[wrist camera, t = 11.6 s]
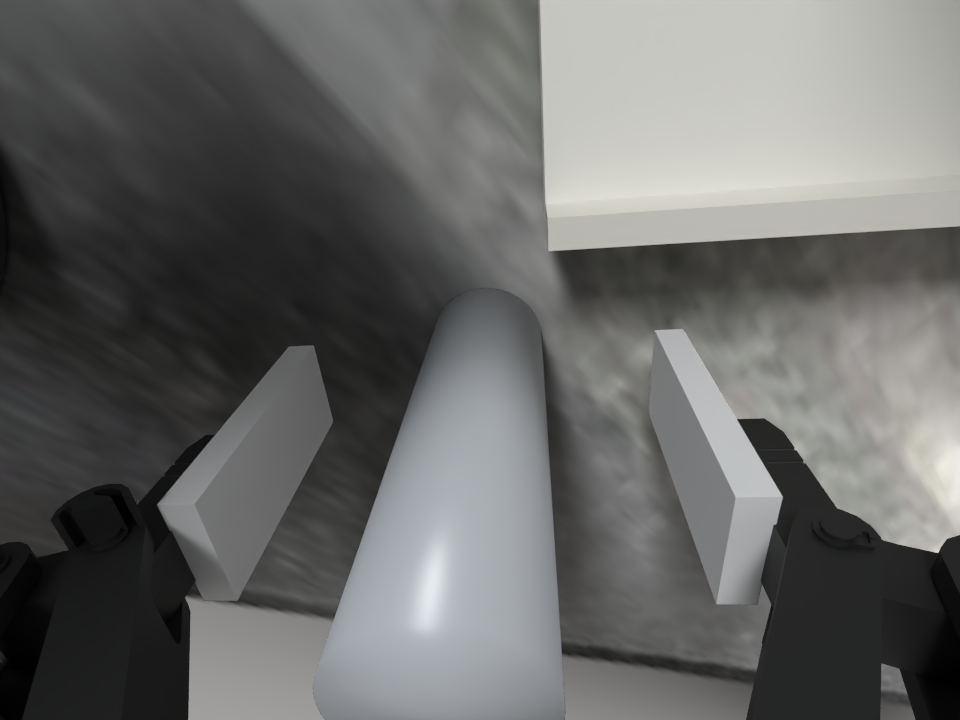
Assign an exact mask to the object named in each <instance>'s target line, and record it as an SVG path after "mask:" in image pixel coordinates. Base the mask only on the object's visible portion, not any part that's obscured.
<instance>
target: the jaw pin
mask: <svg viewBox="0 0 960 720" xmlns="http://www.w3.org/2000/svg"><path fill="white" fill-rule="evenodd" d="M313 695H314V699H315V702H316V705H317V707H318V709H319V711H320V714H321V715H322V716H323V718H324V719H325V720H565V696H564V681H563V666H562V649H561V634H560V618H559V602H558V587H557V571H556V555H555V540H554V524H553V509H552V493H551V477H550V462H549V446H548V430H547V415H546V399H545V384H544V368H543V352H542V337H541V329H540V325H539V322H538V319H537V317H536V316H535V314H534V312H533V311H532V310H531V308H530V307H529V306H528V305H527V304H526V303H525V302H524V301H523V300H521V299H520V298H519V297H517V296H515V295H513V294H511V293H509V292H506V291H503V290H499V289H492V288H481V289H475V290H470V291H468V292H465V293H462V294H461V295H459V296H457V297H456V298H454V299H453V300H451V301H450V302H449V303H448V304H447V305H446V306H445V308H444V309H443V310H442V312H441V314H440V315H439V318H438V320H437V323H436V326H435V329H434V332H433V334H432V337H431V340H430V343H429V346H428V349H427V352H426V355H425V358H424V360H423V363H422V366H421V369H420V372H419V375H418V378H417V381H416V384H415V387H414V389H413V392H412V395H411V398H410V401H409V404H408V407H407V410H406V413H405V415H404V418H403V421H402V424H401V427H400V430H399V433H398V436H397V439H396V442H395V444H394V447H393V450H392V453H391V456H390V459H389V462H388V465H387V468H386V470H385V473H384V476H383V479H382V482H381V485H380V488H379V491H378V494H377V497H376V499H375V502H374V505H373V508H372V511H371V514H370V517H369V520H368V523H367V525H366V528H365V531H364V534H363V537H362V540H361V543H360V546H359V549H358V552H357V554H356V557H355V560H354V563H353V566H352V569H351V572H350V575H349V578H348V580H347V583H346V586H345V589H344V592H343V595H342V598H341V601H340V604H339V607H338V609H337V612H336V615H335V618H334V621H333V624H332V627H331V630H330V633H329V636H328V639H327V641H326V644H325V647H324V650H323V653H322V656H321V659H320V662H319V665H318V667H317V670H316V673H315V676H314V682H313Z"/></svg>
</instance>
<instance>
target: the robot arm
mask: <svg viewBox="0 0 960 720" xmlns="http://www.w3.org/2000/svg"><path fill="white" fill-rule="evenodd" d="M6 247H7V245H6V224H5V215H4V209H3V204H2V198H1V194H0V285H1V282H2V278H3V274H4V268H5V262H6ZM648 413H649V415H650V418H651V421H652V424H653V427H654V430H655V432H656V435H657V438H658V441H659V444H660V446H661V449H662V452H663V455H664V458H665V461H666V463H667V466H668V469H669V472H670V475H671V478H672V480H673V483H674V486H675V489H676V492H677V495H678V497H679V500H680V503H681V506H682V509H683V512H684V514H685V517H686V520H687V523H688V526H689V529H690V531H691V534H692V537H693V540H694V543H695V546H696V548H697V551H698V554H699V557H700V560H701V563H702V565H703V568H704V571H705V574H706V577H707V580H708V582H709V585H710V588H711V591H712V594H713V597H714V599H715V602H716V604H751V605H757V604H758V599H759V595H760V591H761V587H762V585H763V587H764V589H765V591H766V593H767V596H768V598H769V600H770V602H771V604H772V605H771V609H770V613H769V617H768V621H767V625H766V628H765V632H764V636H763V640H762V643H763V644H762V649H761V654H760V658H759V663H758V667H757V672H756V677H755V681H754V686H753V691H752V695H751V700H750V704H749V709H748V714H747V719H746V720H880V698H881V663H882V664H886V665H889V666H893V667H896V668H899V669H900V672H901V675H902V678H903V681H904V684H905V687H906V691H907V694H908V697H909V700H910V703H911V706H912V710H913V713H914V716H915V719H916V720H960V535H959V536H956V537H952V538H949V539H947V540H946V541H945V543H944V544H943V545H942V547H941V549H940V551H939V553H934V552H930V551H925V550H921V549H916V548H911V547H907V546H902V545H897V544H894V543H890V542H887V541H883V540H881V537H880V536H879V535H878V534H877V532H876V531H875V530H874V529H873V528H872V527H871V526H870V525H869V524H867V523H866V522H864V521H863V520H862V519H860V518H859V517H857V516H855V515H853V514H850V513H848V512H845V511H843V510H840V509H837V508H836V506H835V505H834V503H833V502H832V501H831V499H830V498H829V496H828V495H827V493H826V492H825V491H824V489H823V488H822V486H821V485H820V483H819V482H818V481H817V479H816V478H815V476H814V475H813V473H812V472H811V471H810V469H809V468H808V466H807V465H806V464H804V463H803V459H802V458H801V456H800V455H799V453H798V452H797V451H795V450H794V446H793V445H792V443H791V442H790V441H789V439H788V438H787V436H786V435H785V433H784V432H783V431H781V430H780V429H779V428H777V427H776V426H774V425H773V424H771V423H770V422H769V421H767V420H766V419H736V417H735V416H734V414H733V412H732V410H731V409H730V407H729V405H728V404H727V402H726V400H725V399H724V397H723V395H722V394H721V392H720V390H719V389H718V387H717V385H716V384H715V382H714V380H713V379H712V377H711V375H710V373H709V372H708V370H707V368H706V367H705V365H704V363H703V362H702V360H701V358H700V357H699V355H698V353H697V352H696V350H695V348H694V347H693V345H692V343H691V342H690V340H689V338H688V336H687V335H686V333H685V331H684V330H683V329H672V330H655V332H654V346H653V359H652V372H651V386H650V399H649V412H648ZM332 423H333V418H332V414H331V410H330V407H329V403H328V399H327V395H326V391H325V387H324V383H323V380H322V376H321V372H320V368H319V364H318V360H317V356H316V353H315V349H314V345H312V346H289V347H288V348H287V350H286V351H285V352H284V353H283V354H282V356H281V357H280V358H279V359H278V360H277V362H276V363H275V364H274V365H273V366H272V368H271V369H270V370H269V371H268V372H267V374H266V375H265V376H264V377H263V378H262V379H261V381H260V382H259V383H258V384H257V385H256V387H255V388H254V389H253V390H252V391H251V393H250V394H249V395H248V396H247V397H246V399H245V400H244V401H243V402H242V403H241V405H240V406H239V407H238V408H237V409H236V411H235V412H234V413H233V414H232V415H231V417H230V418H229V419H228V420H227V421H226V423H225V424H224V425H223V426H222V427H221V429H220V430H219V431H218V432H217V433H216V435H206V436H204V437H203V438H201V439H200V440H198V441H197V442H196V443H194V444H193V445H191V446H190V447H188V448H187V449H186V450H185V451H184V453H183V454H182V455H181V456H180V457H179V458H178V459H177V461H176V462H175V465H172V466H171V467H170V469H169V470H168V471H167V472H166V473H165V477H162V478H161V479H160V480H159V481H158V482H157V483H156V484H155V486H154V487H153V488H152V489H151V490H150V491H149V492H148V494H147V495H146V496H145V497H144V498H143V499H142V500H141V502H140V503H139V504H138V505H137V504H136V502H135V500H134V498H133V496H132V494H131V492H130V490H129V488H127V487H125V486H124V485H122V484H107V485H102V486H98V487H95V488H92V489H89V490H87V491H84V492H82V493H80V494H78V495H77V496H75V497H73V498H72V499H70V500H68V501H67V502H66V503H65V504H63V505H62V506H61V507H60V508H59V509H58V510H57V511H56V512H55V514H54V515H53V517H52V518H51V522H52V523H53V525H54V527H55V528H56V530H57V531H58V533H59V534H60V536H61V538H62V539H63V541H64V542H65V544H66V546H67V547H68V549H69V550H68V551H63V552H59V553H55V554H51V555H47V556H43V557H39V558H36V556H35V555H34V553H33V552H32V550H31V549H30V547H29V546H28V545H27V544H24V543H22V542H11V543H5V544H2V545H0V720H188V700H189V651H190V609H189V606H188V603H187V601H186V599H185V596H186V595H187V593H188V592H189V590H190V589H191V587H192V585H193V584H194V582H195V583H196V586H197V588H198V590H199V592H200V594H201V596H202V598H203V600H204V601H238V599H239V597H240V595H241V593H242V591H243V589H244V588H245V586H246V584H247V582H248V580H249V578H250V576H251V574H252V573H253V571H254V569H255V567H256V565H257V563H258V561H259V560H260V558H261V556H262V554H263V552H264V550H265V548H266V546H267V545H268V543H269V541H270V539H271V537H272V535H273V533H274V532H275V530H276V528H277V526H278V524H279V522H280V520H281V518H282V517H283V515H284V513H285V511H286V509H287V507H288V505H289V504H290V502H291V500H292V498H293V496H294V494H295V492H296V490H297V489H298V487H299V485H300V483H301V481H302V479H303V477H304V476H305V474H306V472H307V470H308V468H309V466H310V464H311V462H312V461H313V459H314V457H315V455H316V453H317V451H318V449H319V448H320V446H321V444H322V442H323V440H324V438H325V436H326V434H327V433H328V431H329V429H330V427H331V425H332Z"/></svg>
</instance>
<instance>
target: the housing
mask: <svg viewBox="0 0 960 720" xmlns="http://www.w3.org/2000/svg"><path fill="white" fill-rule="evenodd" d="M538 26H539V60H540V94H541V129H542V163H543V198H544V219H545V227H546V235H547V243H548V251H560V250H577V249H593V248H610V247H626V246H643V245H659V244H676V243H692V242H709V241H725V240H741V239H758V238H774V237H791V236H807V235H824V234H840V233H857V232H873V231H890V230H906V229H923V228H939V227H956V226H960V0H538Z"/></svg>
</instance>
